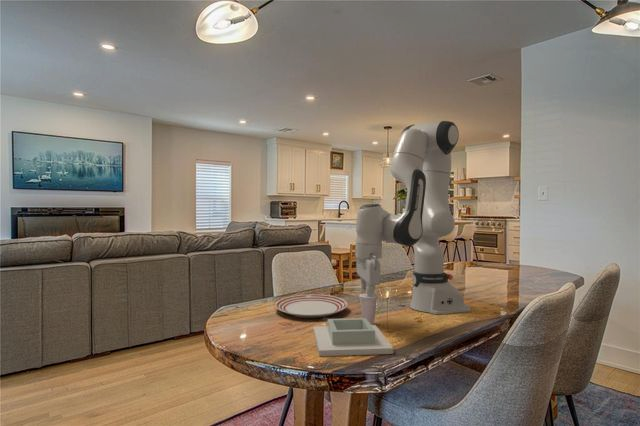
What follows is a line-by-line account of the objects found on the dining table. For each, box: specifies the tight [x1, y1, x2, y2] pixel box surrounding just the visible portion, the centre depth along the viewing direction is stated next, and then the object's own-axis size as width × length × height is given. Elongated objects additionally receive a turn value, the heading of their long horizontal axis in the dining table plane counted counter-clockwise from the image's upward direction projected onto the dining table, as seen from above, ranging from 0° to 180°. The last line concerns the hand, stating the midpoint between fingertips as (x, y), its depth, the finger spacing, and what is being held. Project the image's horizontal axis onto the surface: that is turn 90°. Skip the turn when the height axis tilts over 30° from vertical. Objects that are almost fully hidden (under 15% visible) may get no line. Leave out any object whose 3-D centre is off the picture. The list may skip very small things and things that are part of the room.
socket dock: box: [312, 317, 394, 357], centre depth 109 cm, size 20×20×5 cm
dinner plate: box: [274, 293, 348, 319], centre depth 143 cm, size 28×27×3 cm
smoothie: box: [358, 282, 379, 325], centre depth 126 cm, size 6×6×14 cm
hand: (367, 293), depth 126 cm, fingers open, 8 cm apart
